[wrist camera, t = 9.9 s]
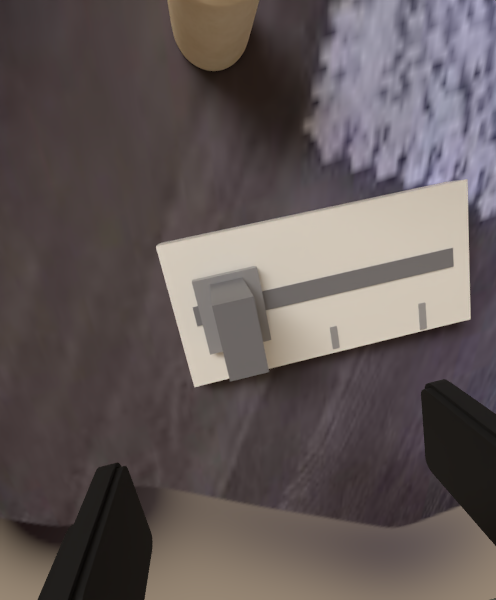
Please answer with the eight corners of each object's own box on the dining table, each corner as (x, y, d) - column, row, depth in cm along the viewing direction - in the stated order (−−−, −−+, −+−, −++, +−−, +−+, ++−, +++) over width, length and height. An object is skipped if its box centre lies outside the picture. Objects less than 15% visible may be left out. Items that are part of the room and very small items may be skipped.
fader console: (445, 181, 30) (468, 179, 27) (451, 311, 33) (471, 319, 30) (159, 243, 28) (155, 246, 25) (195, 373, 31) (194, 387, 29)
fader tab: (255, 265, 27) (273, 283, 20) (269, 336, 28) (289, 374, 22) (192, 279, 26) (188, 302, 20) (209, 350, 28) (212, 393, 21)
